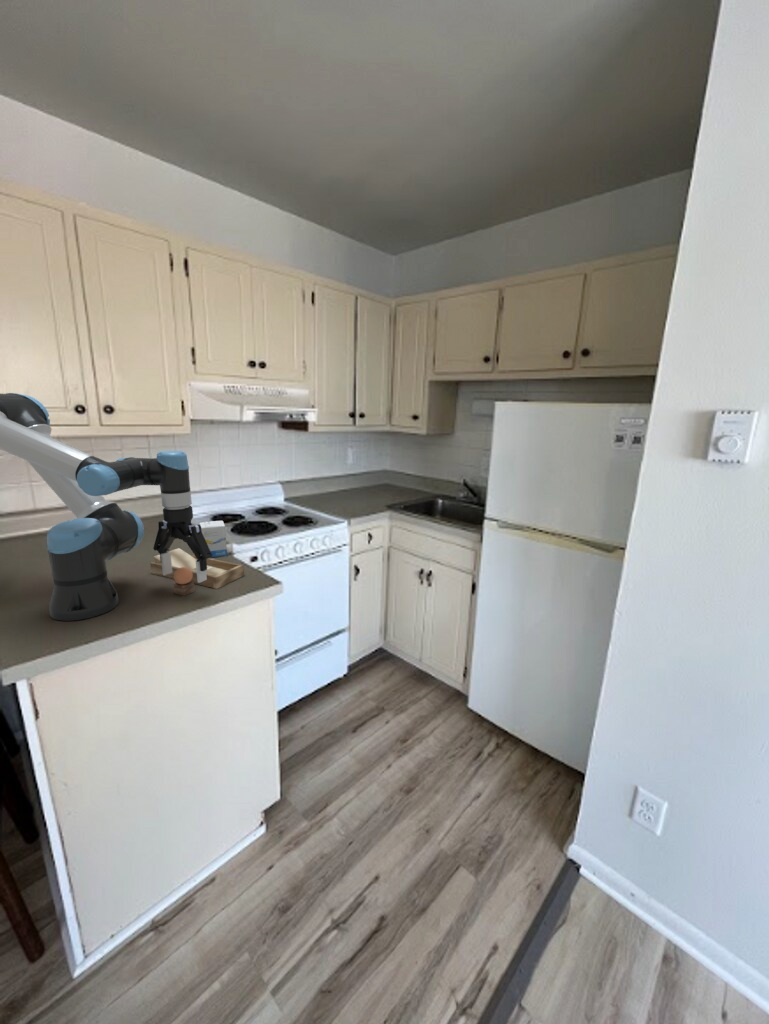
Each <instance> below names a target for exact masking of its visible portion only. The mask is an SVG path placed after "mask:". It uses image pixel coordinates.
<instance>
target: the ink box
mask: <svg viewBox="0 0 769 1024" xmlns="http://www.w3.org/2000/svg"><path fill="white" fill-rule="evenodd" d="M198 525H200V526H201V530H202V534H203V536H204V538H205V540H206V543H207V545H208V547H209V549H210V551H211V554H212V557H210V558H211V559H212V558H218V557H226V556H228V552H227V551H228V550H227V536H226V535H227V533H226V525H225V523H224V521H223V520H213V521H212V520H210V521H204V522H203V521H202V522H199V524H198Z"/></svg>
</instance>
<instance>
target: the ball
mask: <svg viewBox="0 0 769 1024" xmlns="http://www.w3.org/2000/svg"><path fill="white" fill-rule="evenodd" d="M192 577H193V574H192V571H191V570H190V569H189V568H186V567H181V568H179V569H177V570H176V571H175V573H174V581H175V582H176V583H178V584H187V583H189V582H190V581H191V580H192Z"/></svg>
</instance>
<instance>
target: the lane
mask: <svg viewBox="0 0 769 1024" xmlns="http://www.w3.org/2000/svg"><path fill="white" fill-rule="evenodd" d="M169 552H170V553H171V563H172V573H170V574H167V575H163V570H162V563H161V559H160V554H157V555H154V556H153V557H152V560H153V561H152V562H150V563H149V564H150V573H151V574H153V575H157V576H162V577H166V578H170V579H174V573H175V571H176V570H177V569H179V568H181V567H186V568H189V569H190V570H191V571H192V574H193V577H192V580H191V581H192V582H194V585H195V584H196V585H200V586H204V587H208V588H212V589H216V590H218V589H219V588H222V587H224V586H225V585H228V584H231V583H232V582H234V581H236V580H238V579H240V578H241V577H244V576H245V565H244V564H240V563H234V562H230V561H225V560H222V559H221V560H219V559H216V558H212V557H211V558H208V559H207V560H206V561H207V570H206V575H207V580H205V581H203V582H200V583H198V581H197V570H196V560H198V559H197V558H196V556H195V555H194V554H190V553H187V552H186V551H185V550H183V549H181V548H179V547H178V548H175V549H172V550H169Z"/></svg>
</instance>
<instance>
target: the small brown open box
mask: <svg viewBox="0 0 769 1024" xmlns="http://www.w3.org/2000/svg"><path fill="white" fill-rule="evenodd" d="M173 589H174V594H176V595H180V596H184V597H185V596H187V595H189V594H192V593H193V592H195V584H194V582H192V581H190V582H189V583H187V584H178V583H177V582H176V583H173Z"/></svg>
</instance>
